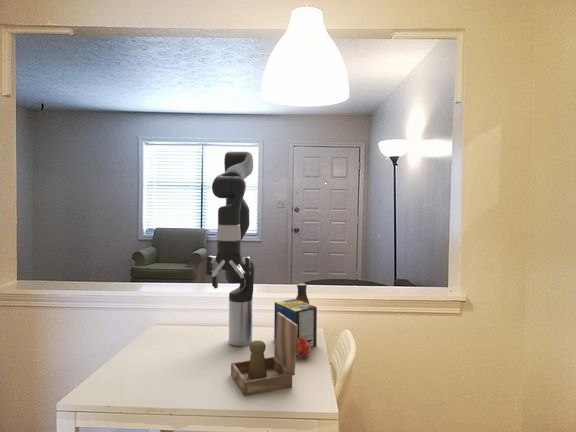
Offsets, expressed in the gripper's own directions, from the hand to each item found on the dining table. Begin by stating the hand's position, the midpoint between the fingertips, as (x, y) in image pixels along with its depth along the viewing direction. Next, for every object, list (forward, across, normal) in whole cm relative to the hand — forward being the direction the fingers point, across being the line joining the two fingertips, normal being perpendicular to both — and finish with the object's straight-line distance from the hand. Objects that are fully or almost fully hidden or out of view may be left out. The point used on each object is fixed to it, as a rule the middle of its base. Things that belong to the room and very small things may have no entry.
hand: (228, 288), depth 133 cm
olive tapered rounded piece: (+28, -10, +2) cm, 29 cm away
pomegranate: (+28, -22, -18) cm, 40 cm away
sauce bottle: (+28, -20, -49) cm, 60 cm away
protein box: (+28, -19, -32) cm, 46 cm away
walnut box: (+28, -11, +4) cm, 31 cm away
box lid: (+17, -18, 0) cm, 25 cm away
